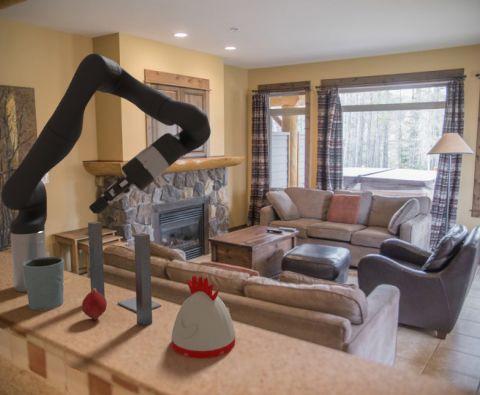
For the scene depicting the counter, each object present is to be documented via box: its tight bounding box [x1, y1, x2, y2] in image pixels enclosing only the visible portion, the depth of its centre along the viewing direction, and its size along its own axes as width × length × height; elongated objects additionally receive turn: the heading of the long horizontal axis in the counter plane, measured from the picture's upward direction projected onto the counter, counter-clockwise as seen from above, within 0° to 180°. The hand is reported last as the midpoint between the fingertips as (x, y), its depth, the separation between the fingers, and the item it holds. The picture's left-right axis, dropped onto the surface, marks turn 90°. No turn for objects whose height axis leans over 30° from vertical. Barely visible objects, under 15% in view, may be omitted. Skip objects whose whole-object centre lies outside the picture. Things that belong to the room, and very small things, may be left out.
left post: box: [87, 221, 106, 298], centre depth 121 cm, size 3×3×22 cm
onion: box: [81, 289, 108, 321], centre depth 109 cm, size 6×6×8 cm
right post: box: [133, 232, 153, 328], centre depth 106 cm, size 3×3×22 cm
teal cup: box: [23, 256, 65, 311], centre depth 119 cm, size 10×10×12 cm
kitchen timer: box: [171, 275, 236, 359], centre depth 97 cm, size 14×14×15 cm
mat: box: [117, 296, 162, 314], centre depth 119 cm, size 10×7×1 cm
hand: (93, 211), depth 105 cm, fingers open, 8 cm apart
